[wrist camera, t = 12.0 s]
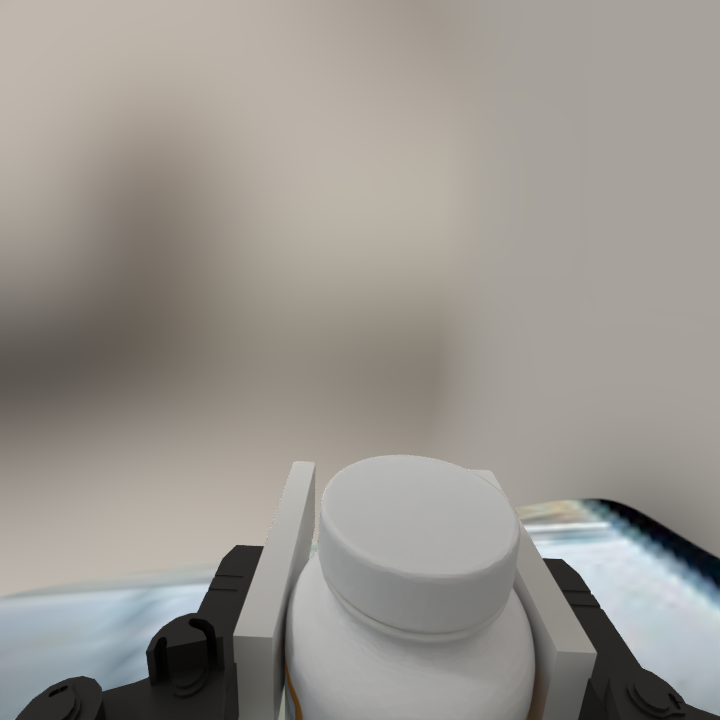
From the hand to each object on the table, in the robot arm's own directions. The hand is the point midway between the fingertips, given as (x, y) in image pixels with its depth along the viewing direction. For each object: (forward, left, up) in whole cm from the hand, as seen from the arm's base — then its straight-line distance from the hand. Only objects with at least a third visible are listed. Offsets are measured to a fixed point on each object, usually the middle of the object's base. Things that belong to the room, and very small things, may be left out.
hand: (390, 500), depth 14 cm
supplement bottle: (0, -5, -6) cm, 8 cm away
